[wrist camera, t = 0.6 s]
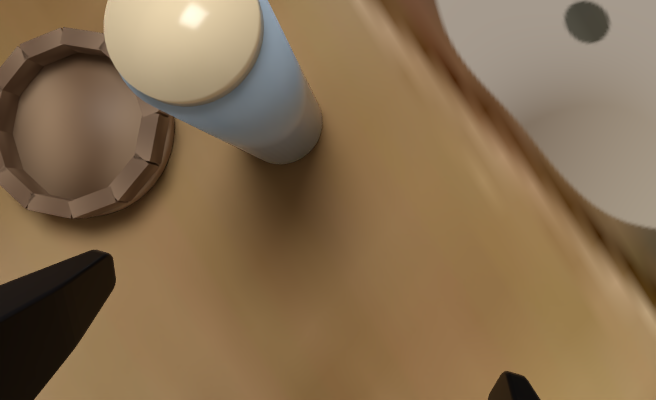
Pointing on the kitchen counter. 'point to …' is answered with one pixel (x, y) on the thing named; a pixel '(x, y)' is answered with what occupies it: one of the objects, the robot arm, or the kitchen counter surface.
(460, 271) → the kitchen counter surface
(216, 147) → the kitchen counter surface
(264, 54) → the bead jar
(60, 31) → the walnut tray
